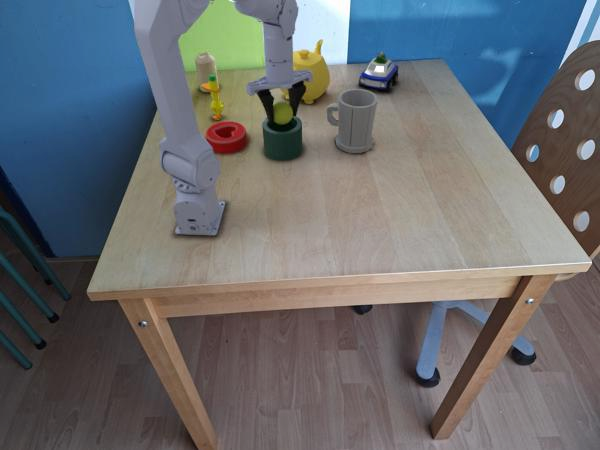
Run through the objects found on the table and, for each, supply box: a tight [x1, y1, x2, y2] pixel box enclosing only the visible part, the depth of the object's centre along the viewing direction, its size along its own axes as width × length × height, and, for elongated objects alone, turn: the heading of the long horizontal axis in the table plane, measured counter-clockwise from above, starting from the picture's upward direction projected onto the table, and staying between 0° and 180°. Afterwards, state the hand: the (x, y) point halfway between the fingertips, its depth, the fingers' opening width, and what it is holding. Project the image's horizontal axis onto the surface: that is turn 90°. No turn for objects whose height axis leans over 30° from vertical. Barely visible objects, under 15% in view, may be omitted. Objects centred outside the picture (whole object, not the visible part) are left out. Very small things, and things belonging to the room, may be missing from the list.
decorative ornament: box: [205, 120, 248, 154], centre depth 102 cm, size 10×10×3 cm
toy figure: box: [201, 74, 225, 121], centre depth 108 cm, size 7×4×12 cm, turn 57°
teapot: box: [279, 39, 331, 105], centre depth 117 cm, size 13×20×12 cm
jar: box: [261, 115, 303, 162], centre depth 98 cm, size 9×9×7 cm
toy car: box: [358, 51, 400, 93], centre depth 121 cm, size 9×12×10 cm
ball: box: [273, 100, 293, 125], centre depth 94 cm, size 5×5×5 cm
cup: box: [326, 88, 379, 154], centre depth 98 cm, size 10×9×12 cm
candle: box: [194, 51, 220, 93], centre depth 121 cm, size 6×6×10 cm
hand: (281, 117), depth 95 cm, fingers closed on ball, 5 cm apart
